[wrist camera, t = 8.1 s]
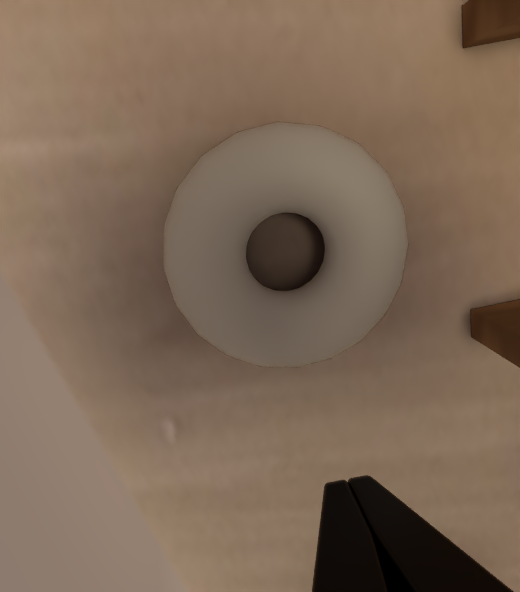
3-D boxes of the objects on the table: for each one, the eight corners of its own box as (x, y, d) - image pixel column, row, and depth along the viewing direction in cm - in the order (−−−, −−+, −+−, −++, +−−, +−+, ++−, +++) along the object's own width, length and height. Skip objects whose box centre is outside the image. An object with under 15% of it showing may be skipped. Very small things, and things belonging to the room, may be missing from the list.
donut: (102, 186, 13) (378, 63, 13) (126, 185, 16) (346, 88, 16) (225, 421, 16) (452, 324, 16) (224, 380, 19) (412, 299, 19)
